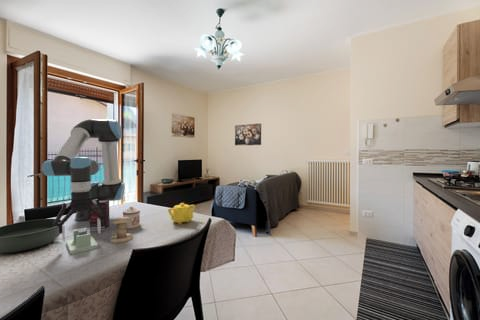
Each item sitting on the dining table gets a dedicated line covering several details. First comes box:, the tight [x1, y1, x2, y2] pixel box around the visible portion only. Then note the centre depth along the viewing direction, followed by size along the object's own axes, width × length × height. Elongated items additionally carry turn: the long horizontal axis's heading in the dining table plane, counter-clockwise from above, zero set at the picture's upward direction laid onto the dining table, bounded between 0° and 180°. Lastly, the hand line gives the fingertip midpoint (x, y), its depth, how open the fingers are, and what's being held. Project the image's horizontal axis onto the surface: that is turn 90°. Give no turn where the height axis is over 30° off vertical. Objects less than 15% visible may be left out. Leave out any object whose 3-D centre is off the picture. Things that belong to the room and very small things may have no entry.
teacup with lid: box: [122, 205, 141, 230], centre depth 132 cm, size 12×9×12 cm
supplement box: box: [89, 201, 111, 232], centre depth 125 cm, size 9×5×16 cm, turn 98°
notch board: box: [66, 227, 99, 255], centre depth 103 cm, size 14×10×6 cm
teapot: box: [167, 202, 196, 226], centre depth 139 cm, size 14×14×12 cm
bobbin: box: [109, 216, 134, 244], centre depth 112 cm, size 10×10×10 cm
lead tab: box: [77, 227, 88, 235], centre depth 102 cm, size 6×3×6 cm, turn 43°
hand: (82, 236), depth 103 cm, fingers open, 13 cm apart
